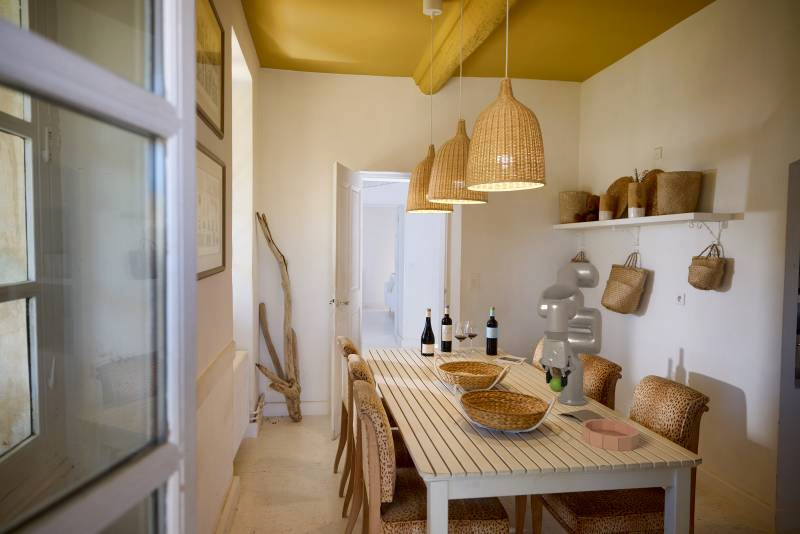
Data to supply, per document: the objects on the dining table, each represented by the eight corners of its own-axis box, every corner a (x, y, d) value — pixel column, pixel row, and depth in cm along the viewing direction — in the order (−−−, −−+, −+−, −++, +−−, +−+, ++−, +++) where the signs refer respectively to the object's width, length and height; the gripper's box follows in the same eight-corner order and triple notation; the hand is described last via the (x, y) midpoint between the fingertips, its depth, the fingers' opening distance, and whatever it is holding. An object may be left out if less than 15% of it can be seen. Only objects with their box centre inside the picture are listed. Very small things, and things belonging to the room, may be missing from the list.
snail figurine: (544, 390, 186) (544, 358, 185) (558, 389, 188) (558, 357, 187) (553, 395, 180) (553, 362, 180) (568, 393, 183) (568, 360, 182)
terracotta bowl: (598, 427, 190) (598, 415, 190) (647, 442, 176) (647, 429, 176) (571, 438, 179) (572, 426, 179) (622, 455, 164) (622, 441, 164)
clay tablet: (608, 423, 197) (608, 415, 197) (588, 428, 191) (588, 420, 191) (575, 412, 211) (575, 405, 211) (556, 416, 205) (556, 409, 205)
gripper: (531, 333, 187) (530, 381, 188) (572, 340, 174) (571, 391, 175) (543, 331, 192) (542, 378, 193) (584, 338, 179) (583, 388, 180)
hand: (556, 384), depth 184 cm, fingers closed on snail figurine, 5 cm apart
